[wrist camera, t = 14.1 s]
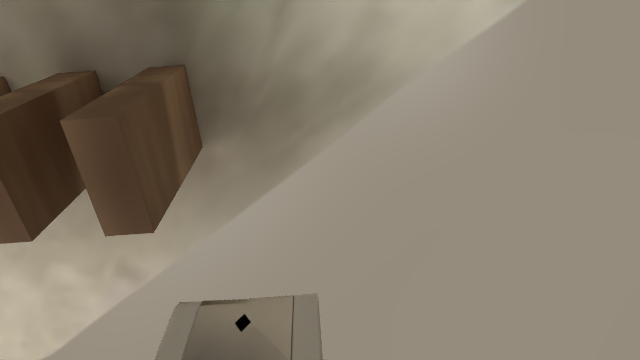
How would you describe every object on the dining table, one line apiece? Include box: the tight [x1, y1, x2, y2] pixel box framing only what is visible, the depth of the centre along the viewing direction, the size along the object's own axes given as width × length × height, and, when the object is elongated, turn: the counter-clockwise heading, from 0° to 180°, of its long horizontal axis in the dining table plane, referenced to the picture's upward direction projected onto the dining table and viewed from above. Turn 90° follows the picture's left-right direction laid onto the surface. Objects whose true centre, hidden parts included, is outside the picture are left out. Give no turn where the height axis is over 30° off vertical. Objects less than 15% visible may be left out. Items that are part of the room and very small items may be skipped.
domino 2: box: [60, 65, 202, 236], centre depth 19 cm, size 2×5×9 cm, turn 3°
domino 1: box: [0, 71, 103, 244], centre depth 18 cm, size 2×5×9 cm, turn 3°
